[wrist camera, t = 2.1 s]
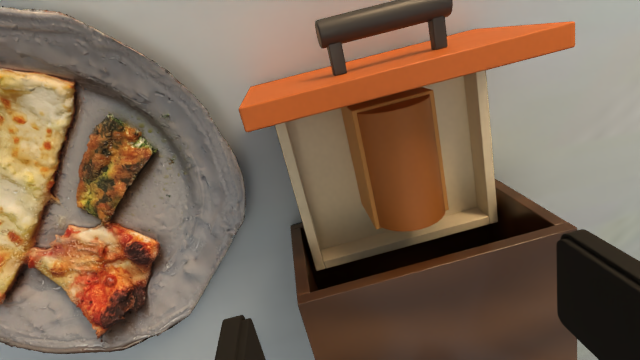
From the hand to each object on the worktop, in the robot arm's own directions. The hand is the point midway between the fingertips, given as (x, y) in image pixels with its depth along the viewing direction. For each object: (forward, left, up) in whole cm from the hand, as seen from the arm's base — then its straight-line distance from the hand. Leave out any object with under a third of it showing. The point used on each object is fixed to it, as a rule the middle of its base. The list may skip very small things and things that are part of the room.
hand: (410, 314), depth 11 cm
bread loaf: (-2, +4, -17) cm, 18 cm away
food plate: (+9, -17, -19) cm, 27 cm away
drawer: (-3, +3, -19) cm, 19 cm away
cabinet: (+8, +10, -19) cm, 23 cm away
